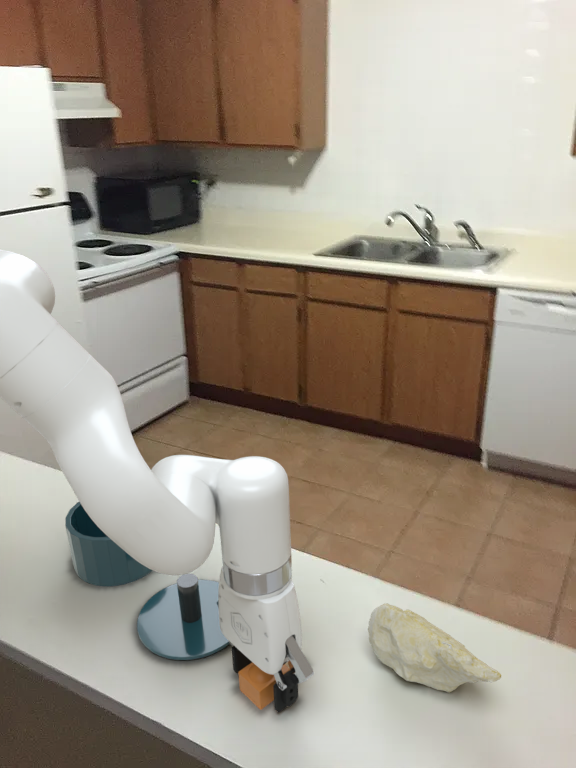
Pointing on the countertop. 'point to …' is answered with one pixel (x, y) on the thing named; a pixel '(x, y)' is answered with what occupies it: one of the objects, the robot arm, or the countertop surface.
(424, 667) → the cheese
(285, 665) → the orange knobbed cube
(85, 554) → the pot
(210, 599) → the lid
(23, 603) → the countertop surface
